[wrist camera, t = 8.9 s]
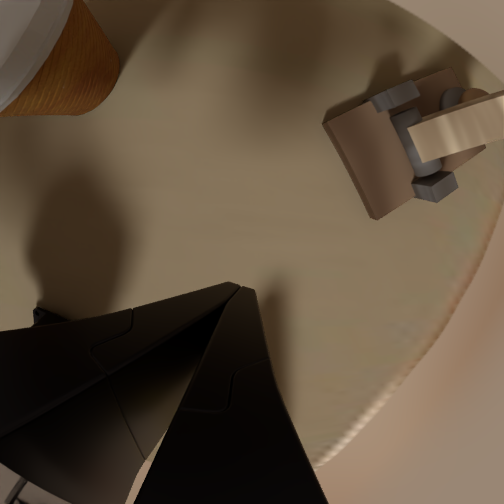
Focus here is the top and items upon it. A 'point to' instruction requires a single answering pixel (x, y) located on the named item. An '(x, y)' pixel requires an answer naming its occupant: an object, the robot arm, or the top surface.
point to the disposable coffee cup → (53, 58)
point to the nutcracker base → (397, 143)
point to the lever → (449, 130)
